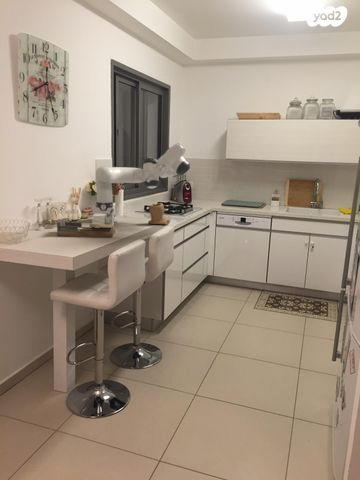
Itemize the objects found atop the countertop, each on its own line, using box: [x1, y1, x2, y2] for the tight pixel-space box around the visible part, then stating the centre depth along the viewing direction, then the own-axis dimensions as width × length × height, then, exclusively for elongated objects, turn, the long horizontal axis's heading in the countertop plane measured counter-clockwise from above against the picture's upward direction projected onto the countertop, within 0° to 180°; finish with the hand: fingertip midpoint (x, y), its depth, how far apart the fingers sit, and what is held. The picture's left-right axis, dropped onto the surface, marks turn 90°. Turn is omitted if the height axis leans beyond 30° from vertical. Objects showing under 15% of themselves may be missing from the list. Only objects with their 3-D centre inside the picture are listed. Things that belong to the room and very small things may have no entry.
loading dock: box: [56, 218, 116, 239], centre depth 247 cm, size 15×32×8 cm, turn 93°
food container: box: [99, 213, 116, 228], centre depth 265 cm, size 12×6×10 cm, turn 141°
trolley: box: [89, 208, 115, 230], centre depth 246 cm, size 10×13×12 cm
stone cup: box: [147, 202, 171, 226], centre depth 291 cm, size 15×12×15 cm
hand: (146, 181), depth 246 cm, fingers open, 8 cm apart
